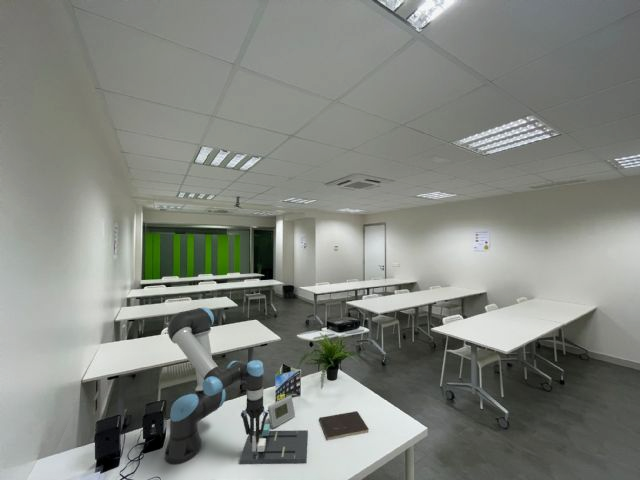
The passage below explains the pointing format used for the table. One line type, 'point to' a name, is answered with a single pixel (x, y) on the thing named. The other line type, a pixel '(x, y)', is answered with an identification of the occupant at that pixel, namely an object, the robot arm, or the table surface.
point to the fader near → (261, 445)
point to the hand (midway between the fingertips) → (254, 449)
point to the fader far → (266, 430)
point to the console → (278, 448)
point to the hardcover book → (343, 425)
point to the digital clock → (281, 411)
